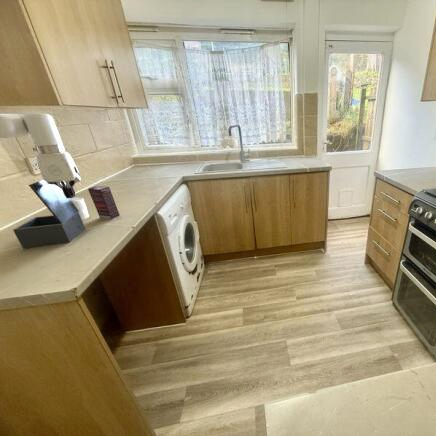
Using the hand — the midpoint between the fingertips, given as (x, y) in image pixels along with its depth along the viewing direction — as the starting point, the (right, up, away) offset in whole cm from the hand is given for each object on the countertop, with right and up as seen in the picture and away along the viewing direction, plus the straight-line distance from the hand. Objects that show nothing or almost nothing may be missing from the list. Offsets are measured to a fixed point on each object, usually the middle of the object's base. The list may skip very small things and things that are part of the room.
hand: (71, 197), depth 97 cm
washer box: (-10, -17, +5) cm, 21 cm away
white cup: (-18, -9, +25) cm, 32 cm away
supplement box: (-3, -8, +25) cm, 27 cm away
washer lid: (-5, -1, -1) cm, 6 cm away
